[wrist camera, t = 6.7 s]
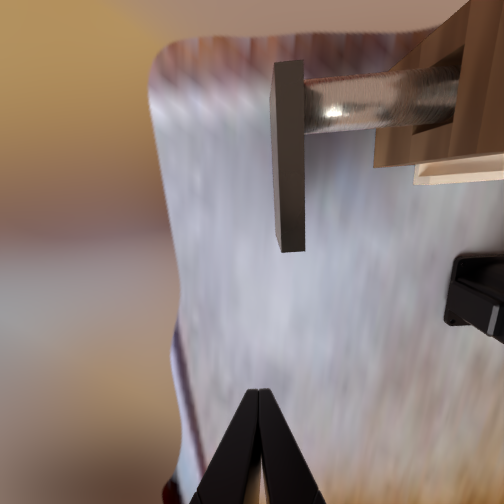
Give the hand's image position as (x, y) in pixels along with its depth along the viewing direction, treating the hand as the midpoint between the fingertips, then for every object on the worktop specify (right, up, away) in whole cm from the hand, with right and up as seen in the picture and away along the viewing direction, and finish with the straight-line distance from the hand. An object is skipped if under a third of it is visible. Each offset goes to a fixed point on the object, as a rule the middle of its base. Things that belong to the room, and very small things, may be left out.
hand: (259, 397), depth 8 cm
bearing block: (+11, +15, +9) cm, 20 cm away
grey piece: (+5, +11, +6) cm, 14 cm away
